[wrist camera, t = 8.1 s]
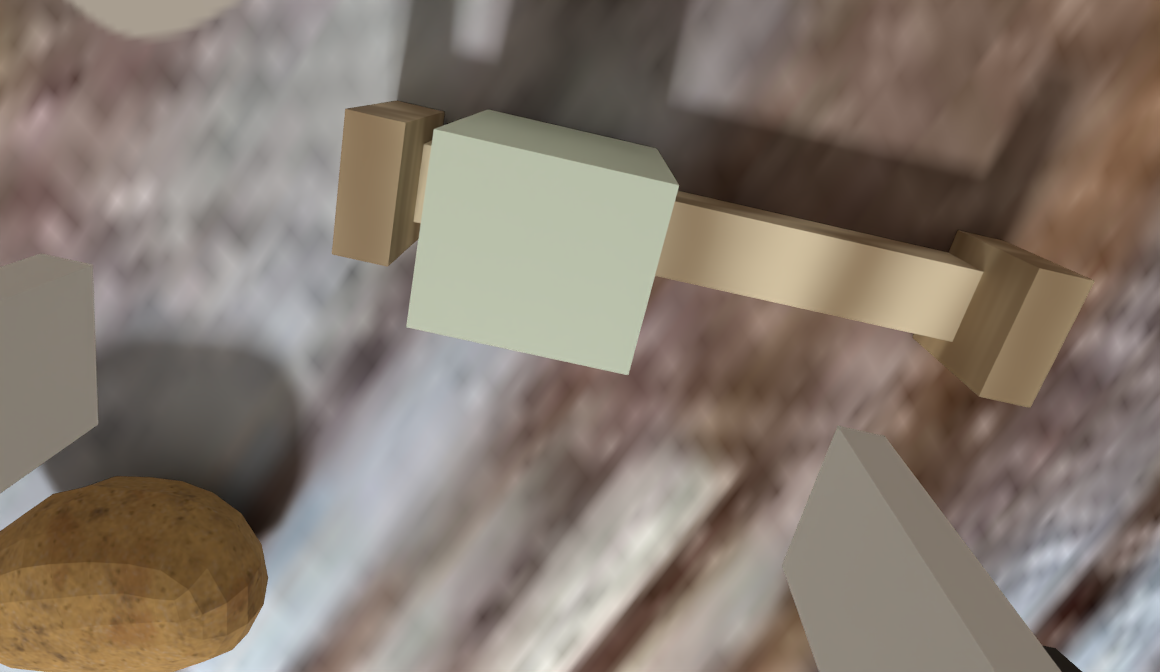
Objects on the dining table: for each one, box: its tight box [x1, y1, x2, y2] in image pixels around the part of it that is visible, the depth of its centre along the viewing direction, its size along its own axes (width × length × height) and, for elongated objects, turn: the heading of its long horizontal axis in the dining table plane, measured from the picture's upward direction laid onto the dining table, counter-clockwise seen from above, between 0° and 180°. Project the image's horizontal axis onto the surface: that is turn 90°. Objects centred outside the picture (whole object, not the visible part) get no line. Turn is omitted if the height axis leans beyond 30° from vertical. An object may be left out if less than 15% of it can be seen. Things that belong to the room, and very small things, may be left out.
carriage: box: [406, 109, 679, 375], centre depth 25 cm, size 7×6×10 cm
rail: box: [332, 101, 1094, 408], centre depth 27 cm, size 26×5×6 cm, turn 78°
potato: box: [0, 476, 268, 672], centre depth 33 cm, size 10×14×8 cm
